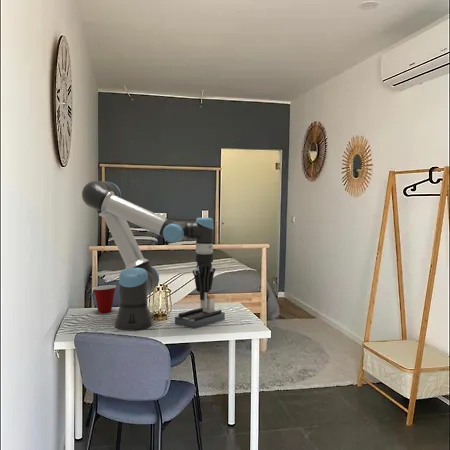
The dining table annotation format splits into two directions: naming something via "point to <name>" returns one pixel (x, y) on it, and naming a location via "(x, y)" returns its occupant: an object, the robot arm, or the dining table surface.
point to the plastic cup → (104, 297)
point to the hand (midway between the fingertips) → (203, 307)
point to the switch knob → (209, 304)
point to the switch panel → (198, 318)
